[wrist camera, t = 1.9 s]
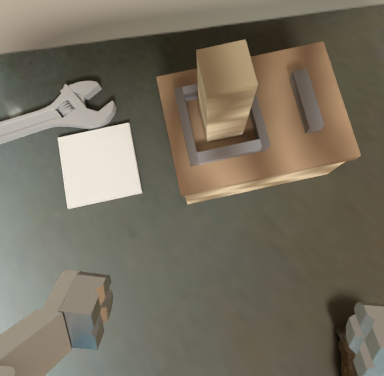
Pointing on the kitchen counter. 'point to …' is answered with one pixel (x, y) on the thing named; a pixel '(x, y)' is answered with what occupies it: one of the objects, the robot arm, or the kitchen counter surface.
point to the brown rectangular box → (262, 127)
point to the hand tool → (346, 354)
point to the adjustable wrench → (69, 107)
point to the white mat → (99, 165)
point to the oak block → (225, 89)
